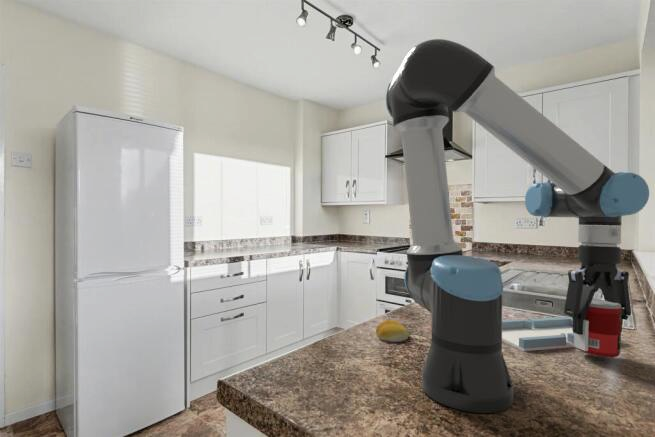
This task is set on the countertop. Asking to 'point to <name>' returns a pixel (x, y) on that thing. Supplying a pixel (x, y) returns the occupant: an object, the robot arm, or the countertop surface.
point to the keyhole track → (539, 333)
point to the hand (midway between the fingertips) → (597, 347)
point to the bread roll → (392, 331)
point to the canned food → (604, 328)
